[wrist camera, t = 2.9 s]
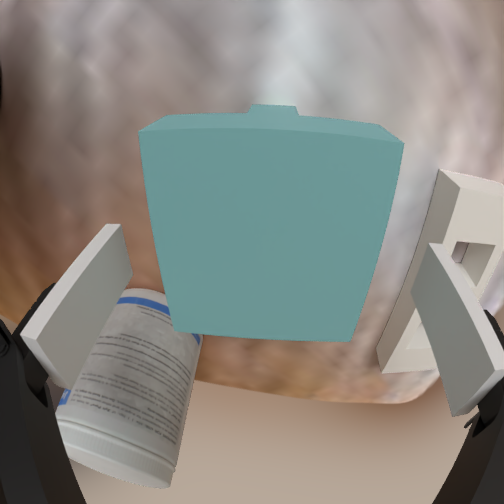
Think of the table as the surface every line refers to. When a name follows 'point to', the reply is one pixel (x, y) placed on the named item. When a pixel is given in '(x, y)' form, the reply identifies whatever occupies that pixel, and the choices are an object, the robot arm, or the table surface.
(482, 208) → the rail
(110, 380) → the supplement tub
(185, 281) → the teal block with tab
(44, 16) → the table surface
